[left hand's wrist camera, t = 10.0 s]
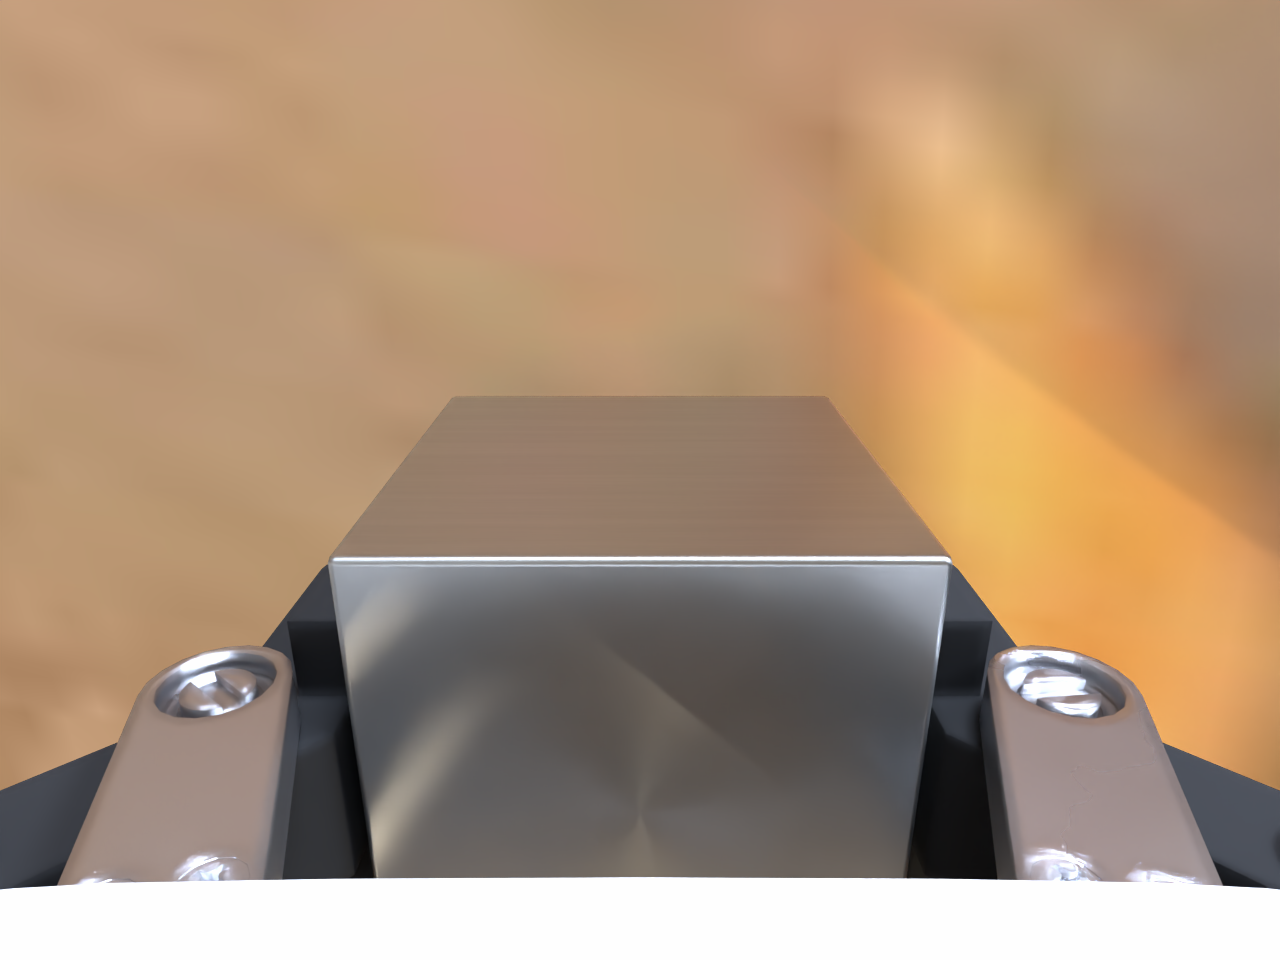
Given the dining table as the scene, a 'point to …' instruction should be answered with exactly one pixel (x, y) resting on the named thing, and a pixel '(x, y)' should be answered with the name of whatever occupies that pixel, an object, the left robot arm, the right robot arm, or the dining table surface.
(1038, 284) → the dining table surface
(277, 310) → the dining table surface
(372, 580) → the silver metal cube
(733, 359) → the dining table surface
